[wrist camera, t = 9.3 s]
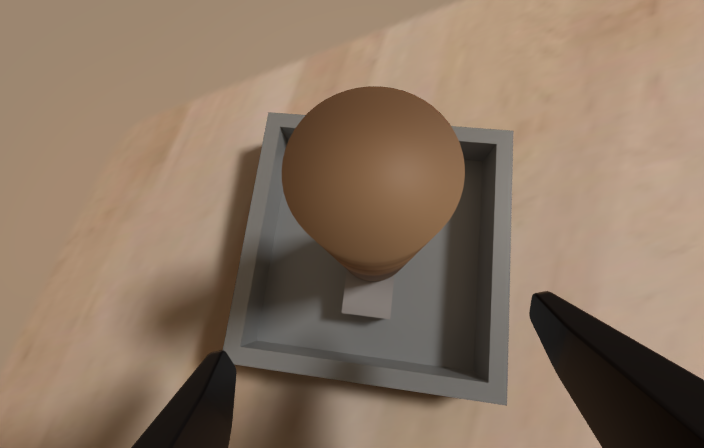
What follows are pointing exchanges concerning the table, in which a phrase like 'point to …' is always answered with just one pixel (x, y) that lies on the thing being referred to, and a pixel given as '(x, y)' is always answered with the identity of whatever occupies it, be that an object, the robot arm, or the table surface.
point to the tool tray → (408, 290)
